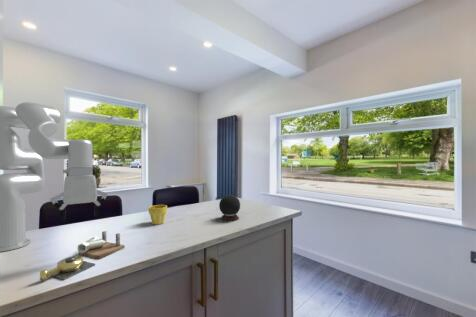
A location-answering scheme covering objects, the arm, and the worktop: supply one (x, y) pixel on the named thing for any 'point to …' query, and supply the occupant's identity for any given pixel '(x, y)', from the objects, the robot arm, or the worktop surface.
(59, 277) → the base
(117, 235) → the peg rack
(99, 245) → the pipe fitting
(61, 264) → the gold elongated piece
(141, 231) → the worktop surface
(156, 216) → the plant pot
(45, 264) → the worktop surface
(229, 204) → the black round ball
